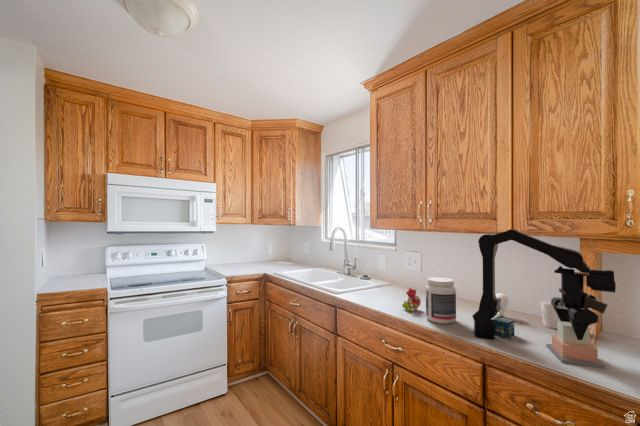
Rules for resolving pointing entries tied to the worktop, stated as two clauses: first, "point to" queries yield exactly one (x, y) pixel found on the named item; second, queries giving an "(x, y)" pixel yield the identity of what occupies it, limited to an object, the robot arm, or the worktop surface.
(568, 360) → the brick base
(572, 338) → the sage brick
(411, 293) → the bird rattle
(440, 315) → the supplement tub
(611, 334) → the worktop surface
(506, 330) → the puzzle
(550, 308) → the white cup
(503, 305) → the light bulb
